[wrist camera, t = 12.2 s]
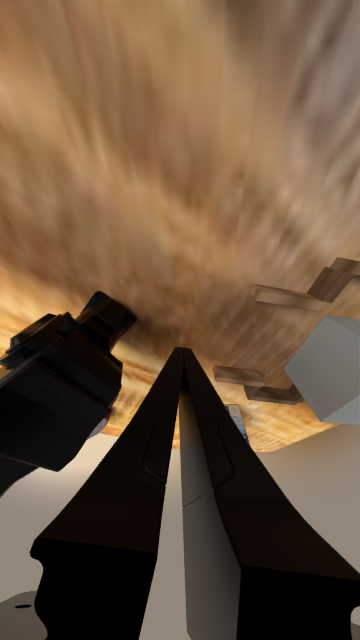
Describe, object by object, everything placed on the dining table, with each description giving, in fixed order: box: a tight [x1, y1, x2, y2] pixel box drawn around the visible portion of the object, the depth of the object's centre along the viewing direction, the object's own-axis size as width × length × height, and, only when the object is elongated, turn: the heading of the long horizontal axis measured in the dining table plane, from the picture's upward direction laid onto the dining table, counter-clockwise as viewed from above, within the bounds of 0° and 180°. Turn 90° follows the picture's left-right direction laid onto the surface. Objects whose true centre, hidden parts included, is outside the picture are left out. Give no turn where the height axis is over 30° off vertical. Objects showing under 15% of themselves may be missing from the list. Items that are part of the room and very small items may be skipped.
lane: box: [213, 257, 360, 405], centre depth 22 cm, size 30×27×4 cm
